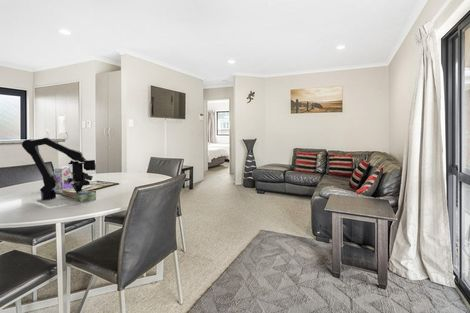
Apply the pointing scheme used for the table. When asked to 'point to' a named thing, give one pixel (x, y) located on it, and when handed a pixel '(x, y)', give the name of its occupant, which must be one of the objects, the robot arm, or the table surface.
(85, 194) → the block
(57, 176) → the candy box
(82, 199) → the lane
